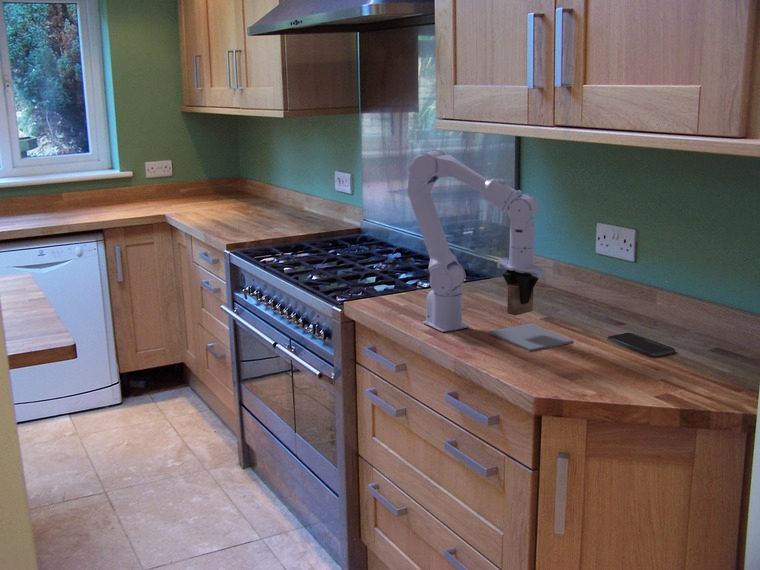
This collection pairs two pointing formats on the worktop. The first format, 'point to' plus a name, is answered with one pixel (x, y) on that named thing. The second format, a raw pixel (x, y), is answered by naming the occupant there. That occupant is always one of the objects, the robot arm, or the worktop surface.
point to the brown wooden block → (517, 301)
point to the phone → (641, 345)
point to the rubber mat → (530, 337)
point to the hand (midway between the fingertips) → (520, 302)
